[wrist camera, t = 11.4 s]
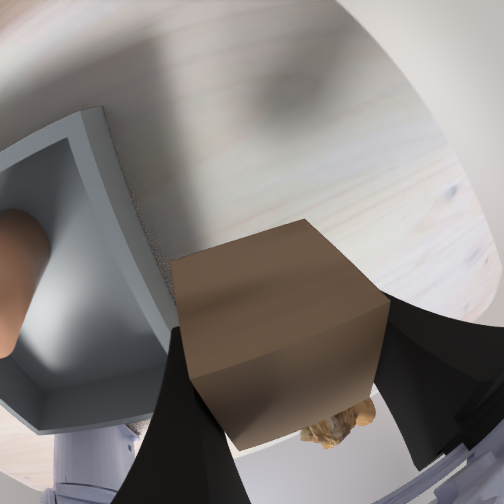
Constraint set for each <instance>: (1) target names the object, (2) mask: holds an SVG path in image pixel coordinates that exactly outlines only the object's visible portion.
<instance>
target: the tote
mask: <svg viewBox="0 0 504 504" xmlns="http://www.w3.org/2000/svg"><path fill="white" fill-rule="evenodd" d="M6 209H18V210H22V211H24V212H26V213H28V214H30V215H31V216H32V217H34V218H35V219H36V220H37V221H38V222H39V224H40V225H41V226H42V228H43V229H44V231H45V233H46V235H47V238H48V241H49V245H50V259H49V263H48V266H47V268H46V270H45V272H44V274H43V276H42V279H41V281H40V283H39V285H38V288H37V290H36V292H35V294H34V297H33V299H32V302H31V304H30V306H29V309H28V311H27V314H26V317H25V319H24V322H23V325H22V327H21V330H20V333H19V336H18V339H17V341H16V344H15V347H14V350H13V351H12V353H11V354H9V355H8V356H6V357H4V358H0V405H1V406H3V407H4V408H5V409H6V410H7V411H8V412H10V413H11V414H12V415H13V416H14V417H16V418H17V419H18V420H19V421H20V422H22V423H23V424H24V425H25V426H27V427H28V428H29V429H31V430H32V431H33V432H35V433H36V434H37V435H50V434H60V433H70V432H78V431H85V430H92V429H99V428H105V427H111V426H117V425H122V424H128V423H133V422H138V421H142V420H147V419H151V418H152V415H153V412H154V409H155V406H156V402H157V398H158V395H159V391H160V387H161V384H162V379H163V375H164V370H165V365H166V361H167V355H168V350H169V343H170V335H171V330H172V328H174V327H177V326H180V325H179V319H178V313H177V307H176V305H175V303H174V301H173V298H172V296H171V294H170V292H169V290H168V287H167V285H166V283H165V281H164V278H163V276H162V274H161V271H160V269H159V267H158V264H157V262H156V259H155V257H154V255H153V252H152V250H151V247H150V245H149V242H148V240H147V237H146V235H145V232H144V230H143V227H142V224H141V222H140V219H139V217H138V214H137V211H136V209H135V206H134V203H133V200H132V198H131V195H130V192H129V189H128V186H127V183H126V181H125V178H124V175H123V172H122V169H121V166H120V163H119V160H118V157H117V153H116V150H115V147H114V144H113V141H112V137H111V134H110V131H109V127H108V124H107V120H106V117H105V113H104V110H103V106H99V107H93V108H89V109H84V110H80V111H77V112H75V113H73V114H71V115H68V116H66V117H64V118H62V119H60V120H58V121H56V122H54V123H52V124H49V125H47V126H46V127H44V128H42V129H40V130H38V131H36V132H34V133H32V134H30V135H28V136H27V137H25V138H23V139H21V140H19V141H18V142H16V143H14V144H13V145H11V146H9V147H8V148H6V149H4V150H3V151H1V152H0V211H3V210H6Z"/></svg>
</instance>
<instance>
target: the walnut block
mask: <svg viewBox="0 0 504 504" xmlns="http://www.w3.org/2000/svg"><path fill="white" fill-rule="evenodd" d="M170 265H171V273H172V280H173V287H174V294H175V300H176V307H177V313H178V319H179V325H180V331H181V337H182V342H183V348H184V353H185V358H186V363H187V368H188V373H189V378H190V380H191V382H192V384H193V385H194V387H195V388H196V390H197V392H198V393H199V395H200V396H201V398H202V399H203V401H204V402H205V404H206V405H207V407H208V408H209V410H210V411H211V413H212V414H213V416H214V417H215V419H216V420H217V421H218V423H219V424H220V426H221V427H222V429H223V430H224V431H225V433H226V434H227V436H228V437H229V438H230V440H231V441H232V442H233V444H234V445H235V447H236V448H237V449H238V451H242V450H245V449H248V448H252V447H255V446H258V445H261V444H264V443H267V442H269V441H272V440H275V439H278V438H281V437H283V436H286V435H289V434H291V433H294V432H296V431H299V430H301V429H304V428H306V427H308V426H311V425H313V424H316V423H318V422H320V421H322V420H325V419H327V418H329V417H331V416H333V415H336V414H338V413H340V412H342V411H344V410H346V409H348V408H350V407H352V406H354V405H356V404H358V403H360V402H362V401H364V400H366V399H368V398H369V396H370V393H371V389H372V385H373V382H374V378H375V374H376V370H377V366H378V361H379V357H380V353H381V348H382V344H383V339H384V334H385V329H386V324H387V318H388V313H389V307H390V300H389V299H388V298H387V297H386V296H385V295H384V294H383V293H382V292H381V291H380V290H379V289H378V288H377V287H376V286H375V285H374V284H373V283H372V282H371V281H370V280H369V279H368V278H367V277H366V276H365V275H364V274H363V273H362V272H361V271H360V270H359V269H358V268H357V267H356V266H355V265H354V264H353V263H352V262H351V261H350V260H348V259H347V258H346V257H345V256H344V255H343V254H342V253H341V252H340V251H339V250H338V249H337V248H336V247H335V246H334V245H333V244H332V243H330V242H329V241H328V240H327V239H326V238H325V237H324V236H323V235H322V234H321V233H320V232H319V231H318V230H316V229H315V228H314V227H313V226H312V225H311V224H310V223H309V222H308V221H307V220H305V219H302V220H298V221H295V222H292V223H289V224H285V225H282V226H279V227H276V228H272V229H269V230H266V231H263V232H260V233H256V234H253V235H250V236H247V237H244V238H241V239H238V240H234V241H231V242H228V243H225V244H222V245H219V246H216V247H212V248H209V249H206V250H203V251H200V252H197V253H194V254H191V255H188V256H185V257H182V258H178V259H175V260H172V261H170Z"/></svg>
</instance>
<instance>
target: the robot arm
mask: <svg viewBox="0 0 504 504" xmlns="http://www.w3.org/2000/svg"><path fill="white" fill-rule="evenodd" d="M380 291H381V290H380ZM381 292H382V293H383V294H384V295H385V296H386V297H387V298H388V299H389V300H390V307H389V313H388V318H387V324H386V329H385V334H384V339H383V344H382V348H381V353H380V357H379V361H378V366H377V370H376V374H375V378H374V384H375V385H376V387H377V389H378V390H379V392H380V394H381V395H382V397H383V399H384V401H385V402H386V404H387V406H388V408H389V410H390V412H391V414H392V415H393V418H394V419H395V421H396V424H397V426H398V428H399V430H400V432H401V434H402V436H403V438H404V441H405V443H406V445H407V448H408V450H409V453H410V455H411V458H412V460H413V463H414V465H415V466H416V468H417V469H418V471H421V470H422V469H423V468H425V467H427V466H428V465H429V464H431V463H432V462H434V461H435V460H436V459H438V458H439V457H440V456H442V455H443V454H445V455H446V456H445V457H444V458H443V459H441V460H440V461H439V462H437V463H436V464H435V465H434V466H432V467H430V468H429V469H428V470H426V471H425V472H423V473H422V474H420V475H419V476H417V477H416V478H414V479H413V480H411V481H410V482H408V483H407V484H405V485H403V486H402V487H400V488H399V489H397V490H395V491H394V492H392V493H390V494H389V495H387V496H385V497H383V498H382V499H380V500H378V501H376V502H374V503H372V504H406V503H407V502H409V501H411V500H412V499H414V498H415V497H417V496H418V495H420V494H421V493H423V492H424V491H426V490H427V489H429V488H430V487H431V486H433V485H434V484H436V483H437V482H438V481H440V480H441V479H442V478H444V477H445V476H446V475H448V474H449V473H450V472H451V471H453V470H454V469H455V468H456V467H457V466H459V465H460V464H461V463H462V462H464V461H465V460H466V459H467V465H466V466H465V467H464V468H462V469H461V470H460V471H458V472H457V473H455V474H454V475H453V476H451V477H450V478H449V479H447V480H446V481H445V482H444V483H443V484H441V485H440V486H439V487H438V488H436V489H435V490H434V492H433V493H434V494H435V496H436V497H437V498H436V499H434V500H433V501H431V502H430V503H428V504H504V327H494V326H486V325H480V324H474V323H469V322H464V321H460V320H456V319H452V318H448V317H445V316H441V315H438V314H435V313H432V312H430V311H427V310H424V309H421V308H418V307H416V306H413V305H411V304H409V303H406V302H404V301H402V300H400V299H397V298H395V297H393V296H391V295H389V294H387V293H385V292H383V291H381ZM139 440H140V437H139V436H138V435H137V434H135V433H134V432H133V431H132V430H131V429H129V428H128V427H127V426H126V425H125V424H122V425H117V426H111V427H105V428H99V429H92V430H85V431H78V432H70V433H60V434H55V440H54V486H53V488H52V489H51V488H46V490H44V491H42V492H41V504H251V502H250V500H249V498H248V495H247V493H246V491H245V488H244V486H243V483H242V481H241V478H240V476H239V473H238V471H237V468H236V466H235V463H234V460H233V457H232V455H231V452H230V449H229V446H228V443H227V439H226V436H225V432H224V430H223V429H222V427H221V426H220V424H219V423H218V421H217V420H216V419H215V417H214V416H213V414H212V413H211V411H210V410H209V408H208V407H207V405H206V404H205V402H204V401H203V399H202V398H201V396H200V395H199V393H198V392H197V390H196V388H195V387H194V385H193V384H192V382H191V380H190V378H189V373H188V368H187V363H186V358H185V353H184V348H183V342H182V337H181V331H180V326H177V327H174V328H172V330H171V335H170V343H169V350H168V355H167V361H166V365H165V370H164V375H163V379H162V384H161V387H160V391H159V395H158V398H157V402H156V406H155V409H154V412H153V415H152V418H151V421H150V424H149V427H148V430H147V432H146V435H145V437H144V440H143V442H142V445H141V447H140V449H139V452H138V454H137V456H136V458H135V452H134V443H133V442H137V441H139Z"/></svg>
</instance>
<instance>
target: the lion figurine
mask: <svg viewBox="0 0 504 504" xmlns="http://www.w3.org/2000/svg"><path fill="white" fill-rule="evenodd" d="M375 414H376V411H375V407H374V404H373V402H372V400H371V399H370V397H369V398H368V399H366V400H364V401H362V402H360V403H358V404H356V405H354V406H352V407H350V408H348V409H346V410H344V411H342V412H340V413H338V414H336V415H333V416H331V417H329V418H327V419H325V420H322V421H320V422H318V423H316V424H313V425H311V426H308V427H306V428H304V429H302V430H301V431H300V436H301V440H302V441H313V442H315V443H320V444H321V445H322V446H323V448H324V449H328V448H332V447H334V446H336V445H338V444H340V442H341V441H342V440H344V438H345V437H346V436H347V435H348V434H349V433H350V430H351V429H352V428H354V426H355V425H356V424H357V425H359V426H364V425H367V424H369V423H371V422H372V421H373V419H374V418H375Z"/></svg>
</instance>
